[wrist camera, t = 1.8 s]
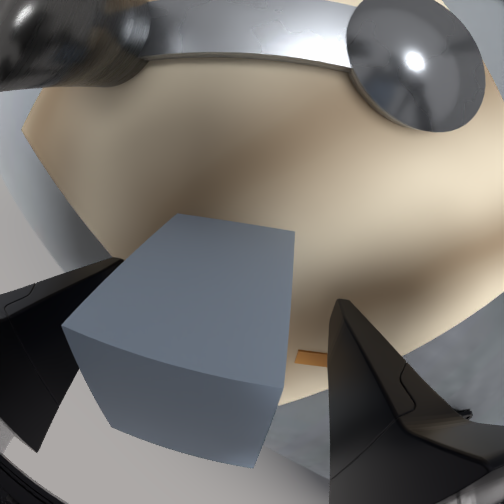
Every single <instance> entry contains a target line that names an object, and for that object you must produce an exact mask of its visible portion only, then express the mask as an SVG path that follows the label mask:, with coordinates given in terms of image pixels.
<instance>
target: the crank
mask: <svg viewBox="0 0 504 504" xmlns="http://www.w3.org/2000/svg"><path fill="white" fill-rule="evenodd" d="M178 58H246V59H261V60H272V61H281V62H290V63H297V64H304V65H310V66H316V67H322V68H327V69H332V70H337V71H342V72H346V73H348V75H349V77H350V79H351V81H352V83H353V85H354V86H355V88H356V90H357V91H358V93H359V94H360V95H361V96H362V98H363V99H364V100H365V101H366V102H367V103H368V104H369V105H370V106H371V107H372V108H373V109H374V110H375V111H377V112H378V113H379V114H380V115H382V116H383V117H385V118H386V119H388V120H390V121H392V122H393V123H395V124H398V125H400V126H403V127H406V128H410V129H415V130H422V131H428V132H448V131H453V130H456V129H458V128H460V127H462V126H464V125H466V124H467V123H468V122H469V121H470V120H471V119H472V118H473V117H474V116H475V115H476V113H477V112H478V110H479V108H480V106H481V104H482V101H483V98H484V94H485V85H486V82H485V69H484V65H483V60H482V57H481V54H480V52H479V49H478V47H477V45H476V43H475V41H474V39H473V38H472V36H471V34H470V33H469V31H468V30H467V29H466V27H465V26H464V25H463V24H462V22H461V21H460V20H459V19H458V18H457V17H456V16H455V15H454V14H453V13H452V12H451V11H449V10H448V9H447V8H445V7H444V6H443V5H441V4H440V3H438V2H436V1H435V0H363V1H362V2H361V3H360V4H359V5H358V6H357V7H355V6H351V5H347V4H342V3H337V2H332V1H327V0H156V1H148V0H0V92H2V91H10V90H20V89H31V88H47V87H114V86H117V85H120V84H123V83H125V82H127V81H128V80H130V79H131V78H133V77H134V76H135V75H137V74H138V73H139V72H140V71H141V70H142V69H143V68H144V67H145V66H146V65H147V63H148V62H149V61H153V60H164V59H178Z"/></svg>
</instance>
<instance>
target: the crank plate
mask: <svg viewBox="0 0 504 504" xmlns="http://www.w3.org/2000/svg"><path fill="white" fill-rule="evenodd" d="M148 1H156V0H148ZM327 1H332V2H337V3H342V4H347V5H351V6H355V7H357V6H358V5H359V4H360V3H361V2H362V1H363V0H327ZM435 1H436V2H438V3H440V4H441V5H443V6H444V7H445V8H447V7H446V5H445V4H444V3H443V2H442V0H435ZM447 9H448V8H447ZM448 10H449V9H448ZM449 11H450V10H449ZM483 65H484V69H485V82H486V85H485V94H484V98H483V101H482V104H481V106H480V108H479V110H478V112H477V113H476V115H475V116H474V117H473V118H472V119H471V120H470V121H469V122H468V123H467V124H466V125H464V126H462V127H460V128H458V129H456V130H453V131H448V132H428V131H422V130H415V129H410V128H406V127H403V126H400V125H398V124H395V123H393V122H392V121H390V120H388V119H386V118H385V117H383V116H382V115H380V114H379V113H378V112H377V111H375V110H374V109H373V108H372V107H371V106H370V105H369V104H368V103H367V102H366V101H365V100H364V99H363V98H362V96H361V95H360V94H359V93H358V91H357V90H356V88H355V86H354V85H353V83H352V81H351V79H350V77H349V75H348V73H346V72H342V71H337V70H332V69H327V68H322V67H316V66H310V65H304V64H297V63H290V62H281V61H272V60H261V59H246V58H178V59H164V60H153V61H149V62H148V63H147V65H146V66H145V67H144V68H143V69H142V70H141V71H140V72H139V73H138V74H137V75H135V76H134V77H133V78H131V79H130V80H128V81H127V82H125V83H123V84H120V85H117V86H114V87H47V88H43V89H42V91H41V93H40V94H39V96H38V98H37V100H36V101H35V103H34V105H33V107H32V109H31V111H30V113H29V115H28V117H27V119H26V121H25V123H24V125H23V127H22V129H21V130H22V132H23V134H24V135H25V137H26V139H27V141H28V142H29V144H30V145H31V147H32V149H33V150H34V152H35V154H36V155H37V157H38V158H39V160H40V161H41V163H42V164H43V166H44V167H45V169H46V170H47V172H48V173H49V175H50V176H51V178H52V179H53V181H54V182H55V184H56V185H57V187H58V188H59V189H60V191H61V192H62V194H63V195H64V196H65V198H66V199H67V200H68V202H69V203H70V205H71V206H72V207H73V209H74V210H75V211H76V213H77V214H78V215H79V216H80V218H81V219H82V220H83V222H84V223H85V224H86V225H87V227H88V228H89V229H90V231H91V232H92V233H93V234H94V236H95V237H96V238H97V239H98V240H99V242H100V243H101V244H102V245H103V246H104V248H105V249H106V250H107V251H108V252H109V254H110V255H111V256H112V257H117V258H121V259H123V260H124V261H125V260H126V259H127V258H128V257H129V256H130V255H131V254H132V253H133V252H134V251H135V250H137V249H138V248H139V247H140V246H141V245H142V244H143V243H144V242H145V241H146V240H147V239H149V238H150V237H151V236H152V235H153V234H154V233H155V232H156V231H158V230H159V229H160V228H161V227H162V226H163V225H164V224H166V223H167V222H168V221H169V220H170V219H171V218H172V217H174V216H175V215H176V214H177V213H178V214H185V215H192V216H199V217H206V218H213V219H220V220H226V221H233V222H239V223H246V224H252V225H258V226H265V227H271V228H277V229H283V230H289V231H295V242H294V262H293V280H292V296H291V310H290V324H289V336H288V348H287V360H286V370H285V380H284V389H283V392H282V395H281V397H280V400H279V403H278V406H280V405H283V404H286V403H289V402H292V401H296V400H299V399H302V398H304V397H307V396H310V395H313V394H316V393H319V392H321V391H324V390H327V389H328V372H327V354H328V335H329V320H330V317H331V314H332V311H333V308H334V305H335V302H336V300H337V299H338V298H340V299H347V300H350V301H351V302H352V303H353V304H354V305H355V306H356V308H357V309H358V310H359V311H360V312H361V313H362V314H363V315H364V316H365V317H366V318H367V319H368V320H369V321H370V322H371V323H372V324H373V326H374V327H375V328H376V329H377V330H378V331H379V332H380V333H381V334H382V335H383V336H384V337H385V339H386V340H387V341H388V342H389V343H390V344H391V345H392V346H393V347H394V348H395V349H396V351H397V352H398V353H399V354H400V355H401V356H403V355H405V354H407V353H409V352H411V351H413V350H415V349H417V348H418V347H420V346H422V345H424V344H426V343H427V342H429V341H431V340H433V339H434V338H436V337H438V336H439V335H441V334H443V333H444V332H446V331H448V330H449V329H451V328H452V327H454V326H456V325H457V324H459V323H460V322H462V321H463V320H465V319H466V318H468V317H469V316H471V315H472V314H474V313H475V312H477V311H478V310H480V309H481V308H482V307H484V306H485V305H487V304H488V303H489V302H491V301H492V300H493V299H495V298H496V297H497V296H499V295H500V294H501V293H502V292H504V101H503V99H502V97H501V95H500V93H499V90H498V88H497V86H496V84H495V82H494V80H493V78H492V76H491V74H490V73H489V71H488V69H487V67H486V65H485V63H484V62H483Z"/></svg>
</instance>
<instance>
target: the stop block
mask: <svg viewBox="0 0 504 504" xmlns="http://www.w3.org/2000/svg"><path fill="white" fill-rule="evenodd" d="M294 242H295V231H289V230H283V229H277V228H271V227H265V226H258V225H252V224H246V223H239V222H233V221H226V220H220V219H213V218H206V217H199V216H192V215H185V214H178V213H177V214H176V215H175V216H174V217H172V218H171V219H170V220H169V221H168V222H167V223H166V224H164V225H163V226H162V227H161V228H160V229H159V230H158V231H156V232H155V233H154V234H153V235H152V236H151V237H150V238H149V239H147V240H146V241H145V242H144V243H143V244H142V245H141V246H140V247H139V248H138V249H137V250H135V251H134V252H133V253H132V254H131V255H130V256H129V257H128V258H127V259H126V260H125V261H124V262H123V263H122V264H121V265H120V266H118V267H117V268H116V269H115V270H114V271H113V272H112V273H111V274H110V275H109V276H108V277H107V278H106V279H105V280H104V281H103V282H102V283H101V284H100V285H99V286H98V287H97V288H96V289H95V290H94V291H93V292H92V293H91V294H90V295H89V296H88V297H87V298H86V299H85V300H84V301H83V302H82V303H81V304H80V306H79V307H78V308H77V309H76V310H75V311H74V312H73V313H72V314H71V315H70V316H69V317H68V318H67V319H66V320H65V322H64V323H63V324H62V325H61V326H62V329H63V331H64V334H65V336H66V339H67V341H68V344H69V346H70V348H71V351H72V353H73V355H74V358H75V360H76V362H77V364H78V366H79V368H80V371H81V373H82V375H83V377H84V379H85V381H86V383H87V385H88V387H89V389H90V390H91V392H92V394H93V396H94V398H95V400H96V401H97V403H98V405H99V407H100V409H101V410H102V412H103V414H104V415H105V417H106V419H107V421H108V422H109V424H110V425H111V427H112V428H115V429H117V430H119V431H122V432H124V433H127V434H129V435H132V436H134V437H137V438H139V439H142V440H145V441H148V442H150V443H153V444H156V445H159V446H162V447H165V448H168V449H172V450H175V451H178V452H181V453H185V454H188V455H193V456H196V457H200V458H204V459H208V460H212V461H216V462H221V463H226V464H231V465H236V466H242V467H247V468H254V465H255V463H256V461H257V458H258V456H259V453H260V451H261V448H262V446H263V443H264V441H265V438H266V436H267V433H268V430H269V428H270V425H271V422H272V420H273V417H274V414H275V411H276V409H277V406H278V403H279V400H280V397H281V395H282V392H283V389H284V380H285V370H286V360H287V348H288V336H289V324H290V310H291V296H292V280H293V262H294Z"/></svg>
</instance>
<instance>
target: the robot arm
mask: <svg viewBox="0 0 504 504" xmlns="http://www.w3.org/2000/svg"><path fill="white" fill-rule="evenodd" d="M123 262H124V260H123V259H121V258H117V257H112V258H109V259H106V260H103V261H100V262H97V263H94V264H91V265H88V266H84V267H81V268H78V269H75V270H72V271H69V272H66V273H63V274H61V275H57V276H55V277H52V278H49V279H46V280H43V281H40V282H37V283H36V284H35V283H34V284H31V285H29V286H26V287H23V288H20V289H17V290H14V291H10V292H7V293H4V294H1V295H0V504H68V503H67V502H65V501H63V500H62V499H60V498H59V497H57V496H56V495H54V494H53V493H51V492H50V491H48V490H47V489H45V488H44V487H43V486H41V485H40V484H38V483H37V482H36V481H34V480H33V479H32V478H30V477H29V476H28V475H27V474H25V473H24V472H23V471H22V470H20V469H19V468H18V467H17V466H15V465H14V464H13V463H12V462H11V461H10V460H9V459H7V458H6V457H5V456H4V455H3V453H4V451H5V449H6V448H7V446H8V444H9V443H10V441H11V440H12V438H13V436H15V437H17V438H18V439H19V440H20V441H22V442H23V443H24V444H25V445H27V446H28V447H30V448H31V449H32V450H33V451H35V452H36V453H37V452H38V451H39V449H40V447H41V444H42V442H43V440H44V438H45V435H46V433H47V431H48V429H49V427H50V424H51V423H52V420H53V418H54V416H55V414H56V412H57V410H58V408H59V405H60V404H61V402H62V400H63V398H64V396H65V394H66V392H67V390H68V389H69V387H70V385H71V383H72V381H73V379H74V377H75V375H76V374H77V372H78V370H79V366H78V364H77V362H76V360H75V358H74V355H73V353H72V351H71V348H70V346H69V344H68V341H67V339H66V336H65V334H64V331H63V329H62V326H61V325H62V324H63V323H64V322H65V320H66V319H67V318H68V317H69V316H70V315H71V314H72V313H73V312H74V311H75V310H76V309H77V308H78V307H79V306H80V304H81V303H82V302H83V301H84V300H85V299H86V298H87V297H88V296H89V295H90V294H91V293H92V292H93V291H94V290H95V289H96V288H97V287H98V286H99V285H100V284H101V283H102V282H103V281H104V280H105V279H106V278H107V277H108V276H109V275H110V274H111V273H112V272H113V271H114V270H115V269H116V268H117V267H118V266H120V265H121V264H122V263H123ZM327 372H328V390H329V415H330V492H329V504H504V426H499V425H490V424H482V423H475V422H472V421H469V419H470V418H471V417H472V416H473V414H472V411H465V412H459V413H457V412H456V411H455V410H454V409H453V408H452V407H451V406H450V405H449V404H448V403H447V402H446V401H445V400H444V399H442V398H441V397H440V396H439V395H438V394H437V393H436V392H435V391H434V390H433V389H432V388H431V387H430V386H429V385H428V384H427V383H426V382H425V381H424V380H423V379H422V378H421V377H420V376H419V375H418V374H417V373H416V371H415V370H414V369H413V368H412V367H411V366H410V365H409V364H408V363H406V360H405V359H404V358H403V357H402V356H401V355H400V354H399V353H398V352H397V351H396V349H395V348H394V347H393V346H392V345H391V344H390V343H389V342H388V341H387V340H386V339H385V337H384V336H383V335H382V334H381V333H380V332H379V331H378V330H377V329H376V328H375V327H374V326H373V324H372V323H371V322H370V321H369V320H368V319H367V318H366V317H365V316H364V315H363V314H362V313H361V312H360V311H359V310H358V309H357V308H356V306H355V305H354V304H353V303H352V302H351V301H350V300H347V299H340V298H338V299H337V300H336V302H335V305H334V308H333V311H332V314H331V317H330V320H329V335H328V354H327Z"/></svg>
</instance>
